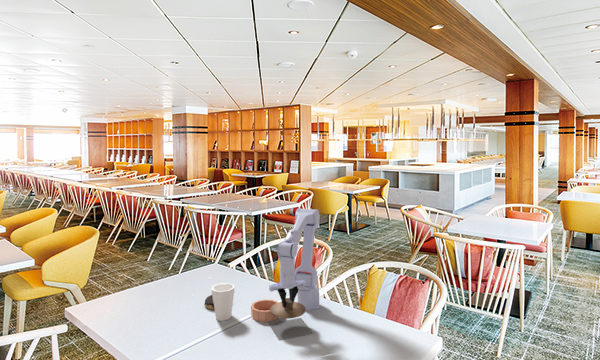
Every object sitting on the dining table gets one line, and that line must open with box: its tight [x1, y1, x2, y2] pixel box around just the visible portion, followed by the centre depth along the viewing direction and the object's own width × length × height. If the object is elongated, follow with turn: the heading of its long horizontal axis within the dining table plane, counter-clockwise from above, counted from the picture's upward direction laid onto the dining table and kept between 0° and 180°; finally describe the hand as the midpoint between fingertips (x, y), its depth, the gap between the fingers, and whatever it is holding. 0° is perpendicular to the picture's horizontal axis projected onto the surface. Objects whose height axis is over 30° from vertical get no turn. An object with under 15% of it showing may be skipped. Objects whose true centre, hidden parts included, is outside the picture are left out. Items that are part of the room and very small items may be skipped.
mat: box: [268, 317, 315, 341], centre depth 147 cm, size 14×14×1 cm
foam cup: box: [211, 282, 235, 322], centre depth 157 cm, size 10×9×13 cm
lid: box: [270, 297, 306, 319], centre depth 148 cm, size 14×14×4 cm
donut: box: [204, 294, 215, 311], centre depth 170 cm, size 11×12×4 cm
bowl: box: [250, 299, 280, 323], centre depth 159 cm, size 12×12×4 cm
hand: (287, 306), depth 148 cm, fingers closed on lid, 2 cm apart
